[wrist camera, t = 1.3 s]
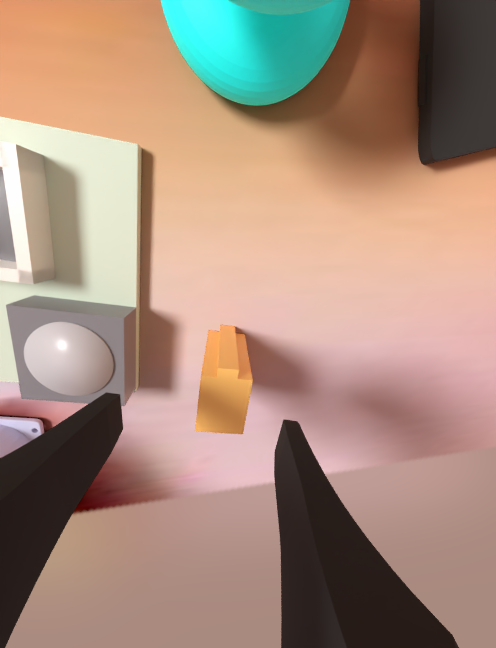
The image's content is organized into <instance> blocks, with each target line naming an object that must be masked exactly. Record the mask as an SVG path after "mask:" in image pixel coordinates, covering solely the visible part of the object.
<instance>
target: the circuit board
mask: <svg viewBox="0 0 496 648" xmlns="http://www.w3.org/2000/svg"><path fill="white" fill-rule="evenodd" d="M0 141H3V142H8V143H14V144H17V145H20V146H22V147H25V148H27V149H29V150H32V151H34V152H37V153H39V154H42V155H44V166H45V176H46V186H47V196H48V206H49V217H50V227H51V237H52V247H53V257H54V267H55V278H54V279H51V280H47V281H44V282H40V283H37V284H26V283H18V282H10V281H2V280H0V381H4V382H16V383H19V380H18V374H17V368H16V362H15V356H14V350H13V345H12V339H11V333H10V327H9V321H8V315H7V309H6V305H7V304H10V303H13V302H16V301H19V300H22V299H24V298H27V297H30V296H33V295H36V296H45V297H53V298H62V299H70V300H78V301H87V302H95V303H103V304H112V305H120V306H128V307H136V387H135V389H134V390H133V392H136V390H137V388H138V387H139V313H140V234H141V155H142V148H141V147H140V146H139V145H138V144H135V143H130V142H125V141H120V140H115V139H110V138H105V137H100V136H95V135H90V134H85V133H80V132H75V131H70V130H65V129H60V128H55V127H50V126H45V125H40V124H35V123H30V122H25V121H20V120H15V119H10V118H4V117H0ZM1 170H3V169H1Z"/></svg>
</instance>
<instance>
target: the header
mask: <svg viewBox="0 0 496 648" xmlns="http://www.w3.org/2000/svg"><path fill="white" fill-rule="evenodd" d="M1 169H3V170H1ZM54 278H55V267H54V257H53V247H52V237H51V227H50V217H49V206H48V196H47V186H46V176H45V166H44V155H42V154H39V153H37V152H34V151H32V150H29V149H27V148H25V147H22V146H20V145H17V144H14V143H8V142H3V141H0V280H2V281H10V282H18V283H26V284H37V283H40V282H44V281H47V280H51V279H54Z"/></svg>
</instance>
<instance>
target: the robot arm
mask: <svg viewBox="0 0 496 648" xmlns="http://www.w3.org/2000/svg"><path fill="white" fill-rule="evenodd" d="M35 428H36V429H35ZM122 430H123V423H122V410H121V398H120V394H114V393H108V392H106V393H104V394H103V395H101V396H100V397H98V398H97V399H95V400H94V401H92V402H91V403H89V404H88V405H86V406H85V407H83V408H82V409H80V410H79V411H77V412H76V413H74V414H73V415H71V416H70V417H68V418H67V419H65V420H64V421H62V422H61V423H59V424H58V425H56V426H55V427H53V428H51V429H50V430H48V431H46V432H45V433H44V427H43V422H42V421H41V420H39V419H34V418H18V417H2V416H0V648H5V646H6V644H7V642H8V640H9V638H10V635H11V633H12V631H13V629H14V627H15V625H16V623H17V621H18V618H19V616H20V614H21V612H22V610H23V608H24V606H25V604H26V602H27V600H28V598H29V596H30V594H31V592H32V590H33V587H34V585H35V583H36V581H37V579H38V577H39V576H40V573H41V571H42V570H43V568H44V566H45V564H46V562H47V560H48V558H49V556H50V554H51V552H52V550H53V548H54V546H55V545H56V543H57V541H58V539H59V537H60V535H61V533H62V531H63V529H64V528H65V526H66V524H67V522H68V520H69V519H70V517H71V515H72V514H73V512H74V510H75V509H76V507H77V505H78V504H79V502H80V501H81V499H82V498H83V496H84V494H85V493H86V491H87V490H88V488H89V487H90V485H91V484H92V482H93V480H94V479H95V477H96V476H97V474H98V473H99V471H100V470H101V468H102V466H103V465H104V463H105V462H106V460H107V459H108V457H109V455H110V454H111V452H112V450H113V448H114V446H115V444H116V442H117V440H118V438H119V436H120V434H121V432H122ZM274 477H275V487H276V499H277V510H278V519H279V531H280V545H281V590H282V591H281V593H282V595H281V597H282V598H281V600H282V601H281V606H282V607H281V609H282V628H281V630H282V632H281V633H282V634H281V636H282V638H281V648H459V647H458V645H457V643H456V641H455V639H454V637H453V635H452V634H451V633H450V632H449V631H448V630H447V629H446V628H445V627H444V626H443V625H442V624H441V623H440V622H439V620H438V619H437V618H436V617H435V616H434V615H433V614H432V613H431V612H430V611H429V610H428V609H427V608H426V607H425V606H424V604H423V603H422V602H421V601H420V600H419V599H418V598H417V597H416V596H415V595H414V594H413V593H412V592H411V591H410V589H409V588H408V587H407V586H406V585H405V583H404V582H403V581H402V580H401V579H400V578H399V577H398V576H397V574H396V573H395V572H394V571H393V570H392V568H391V567H390V566H389V565H388V563H387V562H386V561H385V560H384V558H383V557H382V556H381V555H380V553H379V552H378V551H377V550H376V548H375V547H374V546H373V545H372V543H371V542H370V541H369V540H368V538H367V537H366V536H365V534H364V533H363V532H362V530H361V529H360V528H359V526H358V525H357V523H356V522H355V521H354V519H353V518H352V516H351V515H350V514H349V512H348V511H347V509H346V508H345V507H344V505H343V503H342V502H341V500H340V499H339V497H338V495H337V494H336V493H335V491H334V489H333V487H332V486H331V484H330V482H329V481H328V479H327V477H326V476H325V474H324V472H323V470H322V469H321V467H320V465H319V463H318V461H317V459H316V458H315V456H314V454H313V452H312V450H311V448H310V446H309V444H308V442H307V440H306V438H305V436H304V433H303V431H302V429H301V427H300V425H299V423H298V422H297V421H290V420H283V424H282V427H281V431H280V434H279V438H278V442H277V445H276V449H275V466H274Z"/></svg>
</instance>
